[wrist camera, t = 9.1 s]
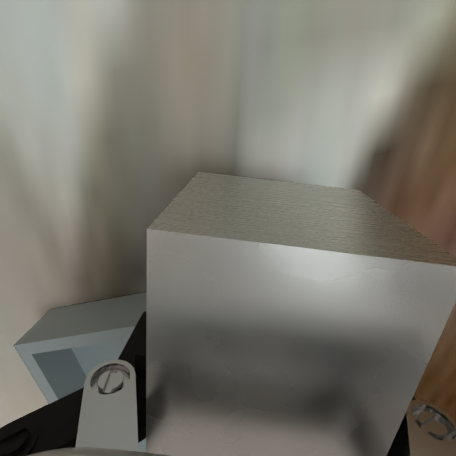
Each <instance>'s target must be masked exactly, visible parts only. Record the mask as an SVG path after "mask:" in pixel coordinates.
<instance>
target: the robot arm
mask: <svg viewBox="0 0 456 456" xmlns="http://www.w3.org/2000/svg"><path fill="white" fill-rule="evenodd" d="M146 313H147V311H145V312H143V314H142V315H141V317H140V319H139V321H138V323H137V324H136V326H135V328H134V330H133V332H132V334H131V336H130V338H129V339H128V341H127V343H126V345H125V347H124V349H123V351H122V352H121V354H120V356H119V358H118V360H109V361H105V362H103V363H101V364H99V365H97V366H96V367H94V368H93V369H92V370H91V371H90V372H89V374H88V375H87V377H86V380H85V383H84V387H83V388H81V389H79V390H77V391H75V392H73V393H71V394H69V395H67V396H65V397H63V398H61V399H58V400H56V401H54V402H52V403H50V404H48V405H46V406H44V407H42V408H40V409H38V410H36V411H34V412H31V413H29V414H27V415H25V416H23V417H21V418H19V419H17V420H15V421H13V422H11V423H9V424H7V425H5V426H4V427H2V428H0V456H170V455H163V454H154V453H146V452H139V449H138V443H139V442H141V441H142V440H144V439H145V438H146ZM387 456H456V422H455V421H454V419H453V418H452V417H451V416H450V415H449V414H447V413H446V412H445V411H444V410H442V409H441V408H439V407H438V406H436V405H434V404H432V403H430V402H427V401H423V400H415V398H414V396H413V398H412V400H411V402H410V404H409V407H408V409H407V411H406V413H405V416H404V418H403V420H402V422H401V424H400V427H399V429H398V431H397V433H396V436H395V438H394V440H393V442H392V444H391V447H390V449H389V451H388V453H387Z"/></svg>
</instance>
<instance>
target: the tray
mask: <svg viewBox="0 0 456 456" xmlns="http://www.w3.org/2000/svg"><path fill="white" fill-rule="evenodd" d="M145 311H147V292H144V293H139V294H133V295H127V296H122V297H116V298H111V299H105V300H99V301H94V302H88V303H83V304H77V305H71V306H66V307H60V308H54V309H50V310H49V311H48V312H47V313H46V314H45V315H44V316H43V317H42V318H41V319H40V320H39V321H38V322H37V323H36V324H35V325H34V326H33V327H32V328H31V329H30V330H29V331H28V332H27V333H26V334H25V335H24V336H23V337H22V338H21V339H20V340H19V341H18V342H17V343H16V344H15V345H14V347H15V349H16V351H17V352H18V354H19V355H20V357H21V359H22V360H23V362H24V364H25V365H26V367H27V369H28V370H29V372H30V374H31V375H32V377H33V378H34V380H35V382H36V383H37V385H38V387H39V388H40V390H41V392H42V393H43V395H44V397H45V398H46V400H47V401H48V403H49V404H50V403H52V402H54V401H56V400H58V399H61V398H63V397H65V396H67V395H69V394H71V393H73V392H75V391H77V390H79V389H81V388H83V387H84V383H85V380H86V377H87V375H88V374H89V372H90V371H91V370H92V369H93V368H94V367H96V366H97V365H99V364H101V363H103V362H105V361H109V360H118V358H119V356H120V354H121V352H122V351H123V349H124V347H125V345H126V343H127V341H128V339H129V338H130V336H131V334H132V332H133V330H134V328H135V326H136V324H137V323H138V321H139V319H140V317H141V315H142V314H143V312H145ZM138 449H139V452H146V438H145V439H144V440H142V441H141V442H139V443H138Z"/></svg>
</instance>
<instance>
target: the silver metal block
mask: <svg viewBox="0 0 456 456" xmlns="http://www.w3.org/2000/svg"><path fill="white" fill-rule="evenodd" d="M455 302H456V258H455V257H454V256H453V255H451V254H450V253H448V252H447V251H445V250H444V249H443V248H441V247H440V246H438V245H437V244H435V243H434V242H433V241H431V240H430V239H428V238H427V237H425V236H424V235H422V234H421V233H420V232H418V231H417V230H415V229H414V228H412V227H411V226H410V225H408V224H407V223H405V222H404V221H402V220H401V219H399V218H398V217H397V216H395V215H394V214H392V213H391V212H389V211H388V210H387V209H385V208H384V207H382V206H381V205H379V204H378V203H377V202H375V201H374V200H372V199H371V198H369V197H368V196H366V195H365V194H364V193H362V192H361V191H359V190H353V189H344V188H336V187H327V186H318V185H310V184H301V183H292V182H284V181H275V180H266V179H258V178H249V177H240V176H232V175H223V174H214V173H206V172H198V173H197V174H196V175H195V176H194V177H193V178H192V179H191V180H190V181H189V183H188V184H187V185H186V186H185V187H184V188H183V189H182V190H181V191H180V193H179V194H178V195H177V196H176V197H175V198H174V199H173V200H172V201H171V203H170V204H169V205H168V206H167V207H166V208H165V209H164V210H163V211H162V213H161V214H160V215H159V216H158V217H157V218H156V219H155V220H154V221H153V223H152V224H151V225H150V226H149V227H148V228H147V313H146V453H154V454H163V455H170V456H387V453H388V451H389V449H390V447H391V444H392V442H393V440H394V438H395V436H396V433H397V431H398V429H399V427H400V424H401V422H402V420H403V418H404V416H405V413H406V411H407V409H408V407H409V404H410V402H411V400H412V398H413V396H414V393H415V391H416V389H417V387H418V384H419V382H420V380H421V378H422V376H423V373H424V371H425V369H426V367H427V364H428V362H429V360H430V358H431V356H432V353H433V351H434V349H435V347H436V345H437V342H438V340H439V338H440V336H441V333H442V331H443V329H444V327H445V325H446V322H447V320H448V318H449V316H450V313H451V311H452V309H453V307H454V305H455Z"/></svg>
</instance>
